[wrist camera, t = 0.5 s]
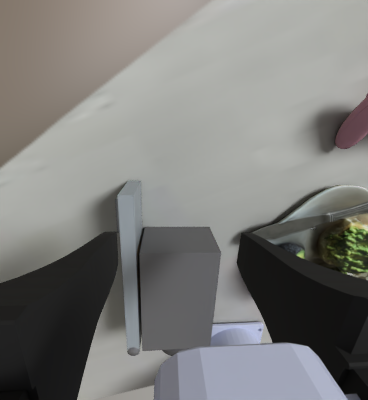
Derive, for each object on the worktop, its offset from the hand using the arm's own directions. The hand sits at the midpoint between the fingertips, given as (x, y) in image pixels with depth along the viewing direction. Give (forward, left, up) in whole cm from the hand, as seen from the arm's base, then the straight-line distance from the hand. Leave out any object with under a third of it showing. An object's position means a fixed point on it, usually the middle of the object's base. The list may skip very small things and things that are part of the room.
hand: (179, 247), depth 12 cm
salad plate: (-7, -17, -10) cm, 22 cm away
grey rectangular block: (-9, 0, -10) cm, 14 cm away
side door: (-7, +4, -10) cm, 13 cm away
